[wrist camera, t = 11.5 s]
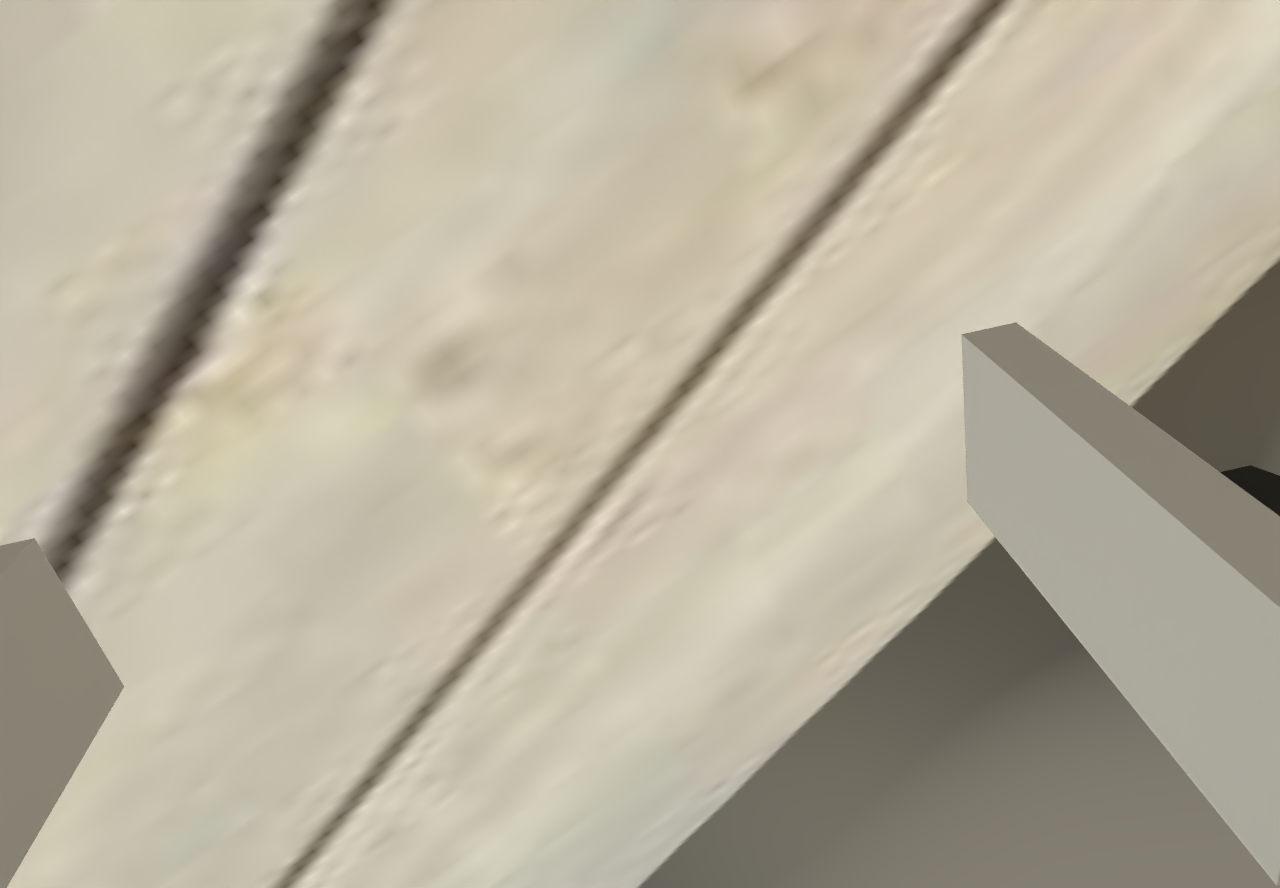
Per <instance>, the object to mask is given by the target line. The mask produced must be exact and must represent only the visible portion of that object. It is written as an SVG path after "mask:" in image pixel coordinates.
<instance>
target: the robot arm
mask: <svg viewBox="0 0 1280 888" xmlns="http://www.w3.org/2000/svg"><path fill="white" fill-rule="evenodd" d="M962 359H963V389H964V418H965V447H966V476H967V502H968V503H969V505H970V506H971V507H972V508H973V510H974V511H975V512H976V513H977V514H978V516H979V517H980V518H981V519H982V521H983V522H984V523H985V524H986V526H987V527H988V528H989V529H990V531H991V532H992V533H993V534H994V536H995V537H996V538H997V539H998V541H999V542H1000V543H1001V544H1002V545H1003V547H1004V548H1005V549H1006V550H1007V552H1008V553H1009V554H1010V555H1011V557H1012V558H1013V559H1014V560H1015V562H1016V563H1017V564H1018V565H1019V567H1020V568H1021V569H1022V570H1023V571H1024V573H1025V574H1026V575H1027V576H1028V578H1029V579H1030V580H1031V581H1032V583H1033V584H1034V585H1035V586H1036V588H1037V589H1038V590H1039V591H1040V593H1041V594H1042V595H1043V596H1044V598H1045V599H1046V600H1047V601H1048V603H1049V604H1050V605H1051V606H1052V607H1053V609H1054V610H1055V611H1056V612H1057V614H1058V615H1059V616H1060V617H1061V618H1062V620H1063V621H1064V622H1065V624H1066V625H1067V626H1068V627H1069V629H1070V630H1071V631H1072V632H1073V634H1074V635H1075V636H1076V637H1077V638H1078V640H1079V641H1080V642H1081V643H1082V645H1083V646H1084V647H1085V648H1086V650H1087V651H1088V652H1089V653H1090V655H1091V656H1092V657H1093V658H1094V660H1095V661H1096V662H1097V663H1098V664H1099V666H1100V667H1101V668H1102V669H1103V671H1104V672H1105V673H1106V674H1107V676H1108V677H1109V678H1110V679H1111V681H1112V682H1113V683H1114V684H1115V686H1116V687H1117V688H1118V689H1119V690H1120V692H1121V693H1122V694H1123V696H1124V697H1125V698H1126V699H1127V700H1128V702H1129V703H1130V704H1131V705H1132V707H1133V708H1134V709H1135V710H1136V712H1137V713H1138V714H1139V715H1140V717H1141V718H1142V719H1143V720H1144V722H1145V723H1146V724H1147V725H1148V727H1149V728H1150V729H1151V730H1152V731H1153V733H1154V734H1155V735H1156V736H1157V738H1158V739H1159V740H1160V741H1161V742H1162V744H1163V745H1164V746H1165V747H1166V749H1167V750H1168V751H1169V752H1170V754H1171V755H1172V756H1173V757H1174V759H1175V760H1176V761H1177V762H1178V764H1179V765H1180V766H1181V767H1182V769H1183V770H1184V771H1185V772H1186V774H1187V775H1188V776H1189V777H1190V779H1191V780H1192V781H1193V782H1194V783H1195V785H1196V786H1197V787H1198V788H1199V790H1200V791H1201V792H1202V793H1203V795H1204V796H1205V797H1206V798H1207V800H1208V801H1209V802H1210V803H1211V804H1212V806H1213V807H1214V808H1215V810H1216V811H1217V812H1218V813H1219V815H1220V816H1221V817H1222V818H1223V819H1224V821H1225V822H1226V823H1227V824H1228V826H1229V827H1230V828H1231V829H1232V831H1233V832H1234V833H1235V834H1236V835H1237V837H1238V838H1239V839H1240V841H1241V842H1242V843H1243V844H1244V846H1245V847H1246V848H1247V849H1248V850H1249V852H1250V853H1251V854H1252V855H1253V857H1254V858H1255V859H1256V860H1257V861H1258V863H1259V864H1260V865H1261V867H1262V868H1263V869H1264V870H1265V872H1267V874H1268V875H1269V877H1270V878H1271V879H1272V880H1273V882H1274V883H1275V884H1276V885H1280V476H1278V475H1276V474H1273V473H1270V472H1267V471H1264V470H1262V469H1259V468H1256V467H1254V466H1246V467H1241V468H1237V469H1233V470H1228V471H1224V472H1219V471H1217V470H1216V469H1214V468H1213V467H1212V466H1210V465H1209V464H1208V463H1206V462H1205V461H1204V460H1202V459H1201V458H1200V457H1198V456H1197V455H1195V454H1194V453H1193V452H1191V451H1190V450H1189V449H1187V448H1186V447H1185V446H1183V445H1182V444H1181V443H1179V442H1178V441H1176V440H1175V439H1174V438H1172V437H1171V436H1169V435H1168V434H1167V433H1165V432H1164V431H1163V430H1162V429H1160V428H1159V427H1157V426H1156V425H1155V424H1153V423H1152V422H1151V421H1149V420H1148V419H1146V418H1145V417H1144V416H1142V415H1141V414H1140V413H1138V412H1137V411H1136V410H1134V409H1133V408H1132V407H1130V406H1129V405H1127V404H1126V403H1125V402H1123V401H1122V400H1121V399H1119V398H1118V397H1117V396H1115V395H1114V394H1113V393H1111V392H1110V391H1108V390H1107V389H1106V388H1104V387H1103V386H1102V385H1100V384H1099V383H1098V382H1096V381H1095V380H1093V379H1092V378H1091V377H1089V376H1088V375H1087V374H1085V373H1084V372H1083V371H1081V370H1080V369H1079V368H1077V367H1076V366H1074V365H1073V364H1072V363H1070V362H1069V361H1068V360H1066V359H1065V358H1064V357H1062V356H1061V355H1059V354H1058V353H1057V352H1055V351H1054V350H1053V349H1051V348H1050V347H1049V346H1047V345H1046V344H1045V343H1043V342H1042V341H1040V340H1039V339H1038V338H1036V337H1035V336H1034V335H1032V334H1031V333H1030V332H1028V331H1027V330H1025V329H1024V328H1023V327H1021V326H1020V325H1019V324H1017V323H1012V324H1007V325H1003V326H998V327H994V328H989V329H984V330H980V331H975V332H971V333H966V334H962ZM123 688H124V685H123V684H122V682H121V680H120V679H119V677H118V675H117V674H116V672H115V670H114V669H113V667H112V665H111V664H110V662H109V661H108V659H107V657H106V656H105V654H104V652H103V651H102V649H101V647H100V646H99V644H98V642H97V641H96V639H95V637H94V636H93V634H92V632H91V631H90V629H89V627H88V626H87V624H86V623H85V621H84V619H83V618H82V616H81V614H80V613H79V611H78V609H77V608H76V606H75V604H74V603H73V601H72V599H71V598H70V596H69V594H68V593H67V591H66V589H65V588H64V586H63V585H62V583H61V581H60V580H59V578H58V576H57V575H56V573H55V571H54V570H53V568H52V566H51V565H50V563H49V561H48V560H47V558H46V556H45V555H44V553H43V551H42V550H41V548H40V546H39V545H38V543H37V542H36V540H35V538H34V539H29V540H25V541H20V542H15V543H11V544H6V545H2V546H0V888H7V886H8V884H9V883H10V881H11V879H12V877H13V876H14V874H15V872H16V871H17V869H18V867H19V865H20V864H21V862H22V860H23V859H24V857H25V855H26V854H27V852H28V850H29V848H30V847H31V845H32V843H33V842H34V840H35V838H36V836H37V835H38V833H39V831H40V830H41V828H42V826H43V824H44V823H45V821H46V819H47V818H48V816H49V814H50V812H51V811H52V809H53V807H54V806H55V804H56V802H57V801H58V799H59V797H60V795H61V794H62V792H63V790H64V789H65V787H66V785H67V783H68V782H69V780H70V778H71V777H72V775H73V773H74V771H75V770H76V768H77V766H78V765H79V763H80V761H81V759H82V758H83V756H84V754H85V753H86V751H87V749H88V748H89V746H90V744H91V742H92V741H93V739H94V737H95V736H96V734H97V732H98V730H99V729H100V727H101V725H102V724H103V722H104V720H105V718H106V717H107V715H108V713H109V712H110V710H111V708H112V707H113V705H114V703H115V701H116V700H117V698H118V696H119V695H120V693H121V691H122V689H123Z"/></svg>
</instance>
